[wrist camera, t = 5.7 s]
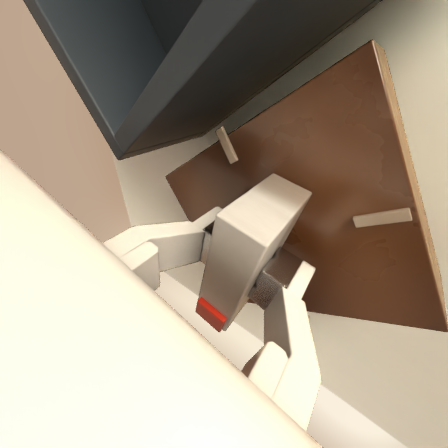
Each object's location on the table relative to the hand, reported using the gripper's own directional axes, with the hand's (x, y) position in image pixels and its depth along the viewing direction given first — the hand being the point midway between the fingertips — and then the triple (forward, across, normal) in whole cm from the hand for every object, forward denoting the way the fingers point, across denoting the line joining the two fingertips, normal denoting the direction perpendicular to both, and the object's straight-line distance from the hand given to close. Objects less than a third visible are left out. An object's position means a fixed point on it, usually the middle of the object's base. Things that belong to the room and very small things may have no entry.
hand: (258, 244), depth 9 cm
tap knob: (+1, 0, 0) cm, 1 cm away
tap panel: (+4, 0, 0) cm, 4 cm away
